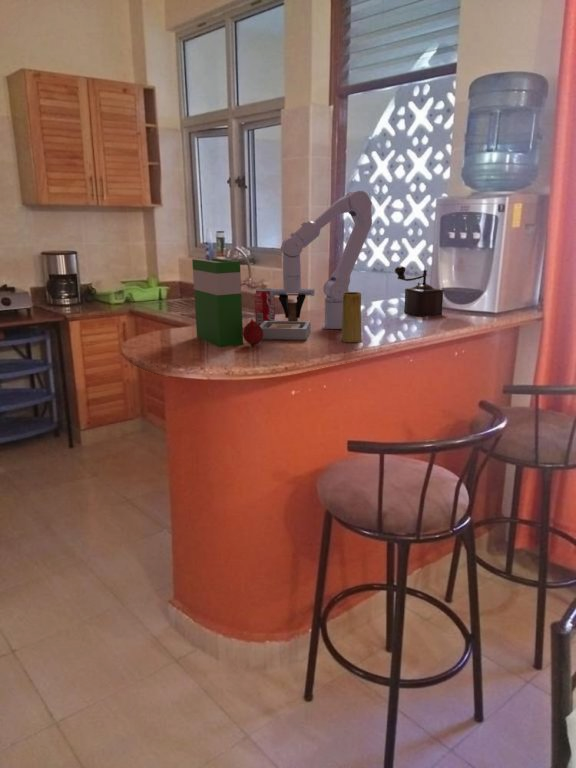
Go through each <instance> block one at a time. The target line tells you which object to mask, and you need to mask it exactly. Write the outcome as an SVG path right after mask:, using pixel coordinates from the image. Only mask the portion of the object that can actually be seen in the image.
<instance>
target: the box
mask: <svg viewBox="0 0 576 768" xmlns="http://www.w3.org/2000/svg"><path fill="white" fill-rule="evenodd" d="M260 327H261V328H262V330H263V338H262V340H261V341H298V342H299V341H301V342H302V341H303V342H304V341H305V340H306V341H308V337H309V336H310V334H311V321H309V320H307V321H306V320H305V321H303V320H298V321H288V320H275V321H264V322H263V323H262V324H261V325H260ZM306 341H305V342H306Z"/></svg>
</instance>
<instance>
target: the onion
mask: <svg viewBox="0 0 576 768" xmlns="http://www.w3.org/2000/svg"><path fill="white" fill-rule="evenodd" d="M249 320H250V321H249V322H248V323H247V324H246V325H245V327H243V340H244V341H246V342H247V343H248V344H249V345H250V346H251V347H256V345H258V344H259V343H260V342H261V341H263V340H262V338H263V330H262V328H261V327H260V325H259V324H258V323H256V322H255V319H254V318H250V319H249Z"/></svg>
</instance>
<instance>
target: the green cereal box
mask: <svg viewBox="0 0 576 768" xmlns="http://www.w3.org/2000/svg"><path fill="white" fill-rule="evenodd" d="M191 261H192V262H191V263H192V275H193V277H192V279H193V291H194V293H193V294H194V295H193V296H194V310H195V312H194V313H195V326H196V327H195V328H196V338H198V339H200V338H201V340H202V339H203V341H204V340H205V342H208V343H209V344H211V343H212V344H211V345H214V346H216V347H218V348H225V347H227V348H228V347H232V346H241V345H244V337H243V330H244V327H243V326H244V325H243V308H242V307H243V305H242V304H243V303H242V301H243V300H242V280H241V279H242V277H241V261H240V260H239V261H238V260H232V259H224V258H223V259H222V258H216V257H215V258H211V260H202V259H196V258H195V259H194V258H193V259H191Z"/></svg>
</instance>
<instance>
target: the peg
mask: <svg viewBox="0 0 576 768" xmlns="http://www.w3.org/2000/svg"><path fill="white" fill-rule="evenodd" d="M287 321H299V318H297V301H288V318H287Z"/></svg>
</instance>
